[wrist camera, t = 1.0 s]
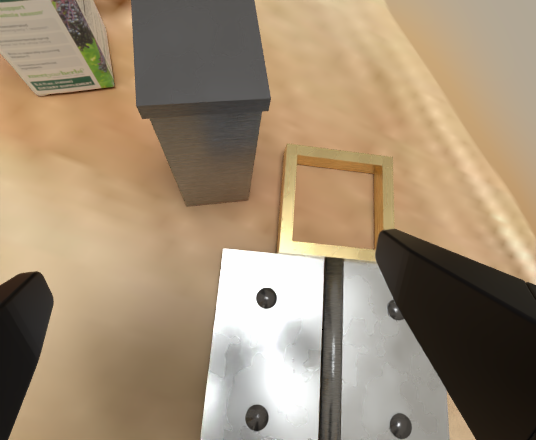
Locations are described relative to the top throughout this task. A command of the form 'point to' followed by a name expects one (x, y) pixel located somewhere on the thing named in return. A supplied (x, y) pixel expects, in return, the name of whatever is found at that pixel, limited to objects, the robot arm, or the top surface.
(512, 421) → the robot arm
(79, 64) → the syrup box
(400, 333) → the hinge leaves
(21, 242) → the top surface
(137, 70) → the pin
